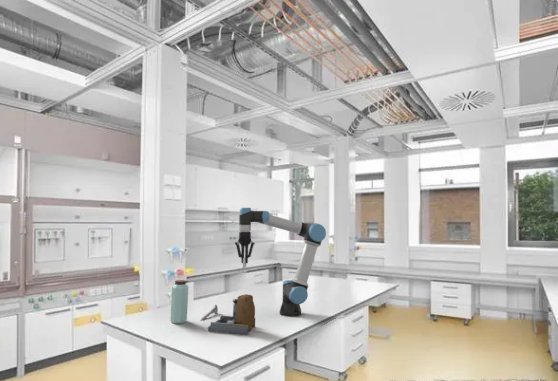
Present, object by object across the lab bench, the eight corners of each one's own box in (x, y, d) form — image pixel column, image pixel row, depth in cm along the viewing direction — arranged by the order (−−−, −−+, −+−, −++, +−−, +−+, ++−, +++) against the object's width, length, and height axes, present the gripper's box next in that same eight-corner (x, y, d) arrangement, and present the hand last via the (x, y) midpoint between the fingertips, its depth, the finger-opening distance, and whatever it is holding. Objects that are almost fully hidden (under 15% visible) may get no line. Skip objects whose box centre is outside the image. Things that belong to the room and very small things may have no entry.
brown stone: (242, 333, 207) (244, 297, 208) (233, 330, 212) (235, 295, 213) (255, 329, 215) (257, 295, 216) (247, 326, 220) (249, 292, 221)
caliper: (216, 313, 250) (216, 304, 250) (217, 313, 249) (217, 304, 250) (200, 321, 231) (200, 310, 231) (201, 321, 230) (202, 311, 231)
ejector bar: (242, 324, 223) (243, 297, 224) (233, 333, 206) (234, 303, 207) (236, 324, 224) (237, 296, 225) (226, 332, 206) (227, 302, 208)
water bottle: (190, 320, 230) (192, 280, 232) (180, 324, 220) (182, 282, 222) (176, 318, 233) (178, 279, 235) (166, 322, 223) (169, 281, 225)
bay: (255, 326, 220) (255, 318, 221) (247, 335, 204) (247, 325, 205) (218, 323, 225) (218, 314, 226) (207, 331, 209) (208, 321, 210)
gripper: (256, 231, 239) (255, 268, 237) (237, 231, 241) (236, 267, 240) (253, 231, 231) (252, 269, 230) (233, 231, 234) (232, 268, 232)
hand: (244, 268), depth 235 cm, fingers closed
